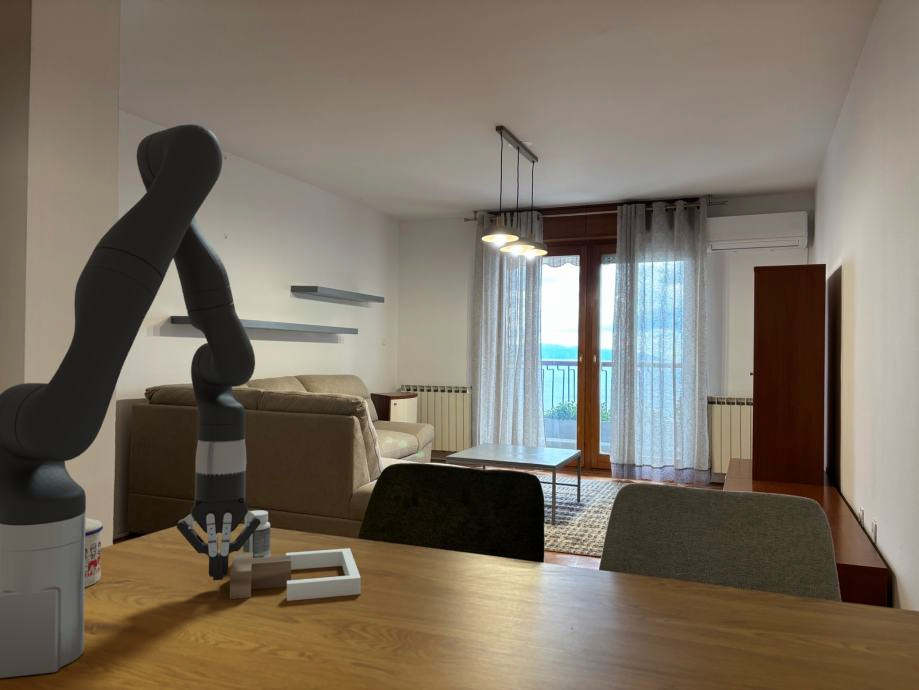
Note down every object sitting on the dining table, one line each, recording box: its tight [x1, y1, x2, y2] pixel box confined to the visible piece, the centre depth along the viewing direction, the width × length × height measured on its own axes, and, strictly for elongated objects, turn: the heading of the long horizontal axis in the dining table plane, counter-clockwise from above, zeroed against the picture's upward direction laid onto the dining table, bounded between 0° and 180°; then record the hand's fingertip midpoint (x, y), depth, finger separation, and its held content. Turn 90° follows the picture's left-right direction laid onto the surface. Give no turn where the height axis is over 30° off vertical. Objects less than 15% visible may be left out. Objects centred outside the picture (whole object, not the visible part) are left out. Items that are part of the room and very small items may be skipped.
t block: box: [229, 552, 292, 600], centre depth 106 cm, size 10×9×4 cm
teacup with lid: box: [85, 517, 104, 588], centre depth 108 cm, size 12×9×12 cm
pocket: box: [285, 547, 362, 602], centre depth 109 cm, size 16×11×2 cm
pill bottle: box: [242, 509, 271, 558], centre depth 119 cm, size 5×5×8 cm
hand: (218, 578), depth 105 cm, fingers closed
